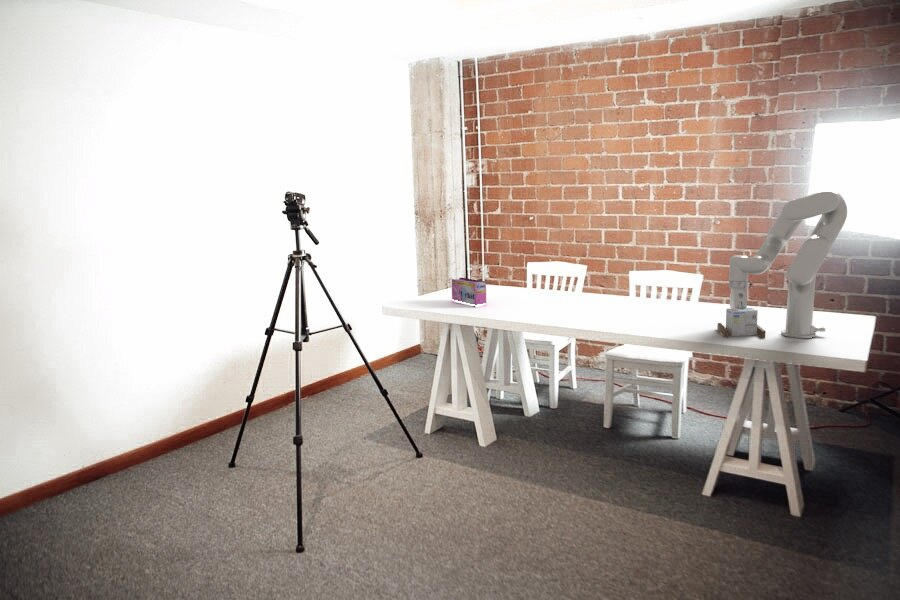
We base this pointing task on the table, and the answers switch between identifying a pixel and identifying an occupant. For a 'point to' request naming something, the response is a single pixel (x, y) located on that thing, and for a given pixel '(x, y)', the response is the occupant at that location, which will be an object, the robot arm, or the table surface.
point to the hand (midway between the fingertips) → (736, 326)
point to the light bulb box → (741, 321)
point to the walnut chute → (725, 332)
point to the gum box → (469, 290)
